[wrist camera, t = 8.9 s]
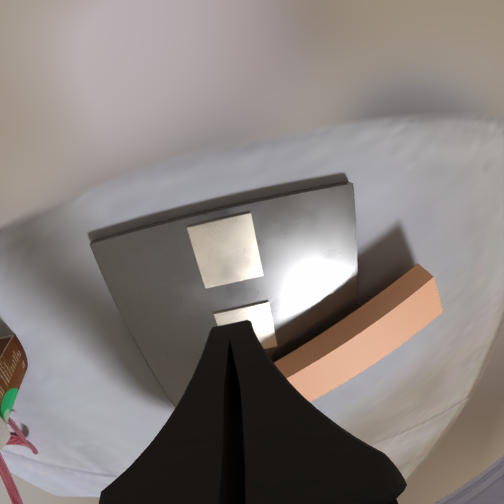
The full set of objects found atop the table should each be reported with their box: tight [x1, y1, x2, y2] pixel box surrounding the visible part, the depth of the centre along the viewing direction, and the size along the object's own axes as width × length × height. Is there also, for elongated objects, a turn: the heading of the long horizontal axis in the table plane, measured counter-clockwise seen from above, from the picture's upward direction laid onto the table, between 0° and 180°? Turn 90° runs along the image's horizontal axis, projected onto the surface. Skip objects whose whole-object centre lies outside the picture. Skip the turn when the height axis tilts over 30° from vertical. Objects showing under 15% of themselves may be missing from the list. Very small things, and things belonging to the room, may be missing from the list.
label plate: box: [90, 182, 358, 407], centre depth 20 cm, size 16×17×1 cm
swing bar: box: [274, 264, 443, 402], centre depth 19 cm, size 17×4×3 cm, turn 126°
